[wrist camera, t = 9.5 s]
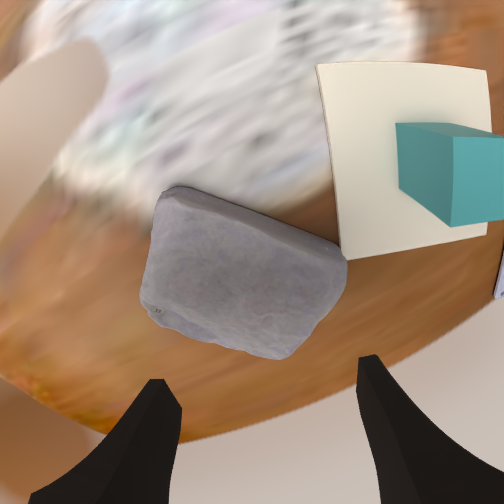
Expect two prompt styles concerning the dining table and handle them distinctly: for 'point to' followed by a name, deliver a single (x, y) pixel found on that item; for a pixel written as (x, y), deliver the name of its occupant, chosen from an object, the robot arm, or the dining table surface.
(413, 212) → the coaster
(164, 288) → the stone block
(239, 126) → the dining table surface
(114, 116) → the dining table surface
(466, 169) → the teal block
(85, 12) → the dining table surface
